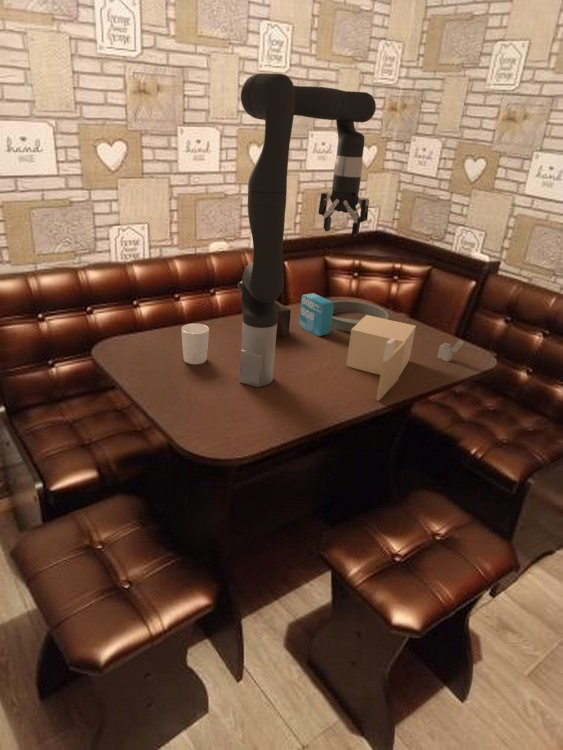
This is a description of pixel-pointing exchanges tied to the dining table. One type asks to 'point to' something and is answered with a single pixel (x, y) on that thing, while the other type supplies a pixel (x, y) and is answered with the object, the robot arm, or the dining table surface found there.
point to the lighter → (448, 350)
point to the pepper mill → (279, 317)
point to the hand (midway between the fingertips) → (340, 233)
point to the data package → (316, 314)
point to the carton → (377, 342)
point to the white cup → (195, 343)
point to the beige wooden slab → (390, 367)
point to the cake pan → (355, 308)
